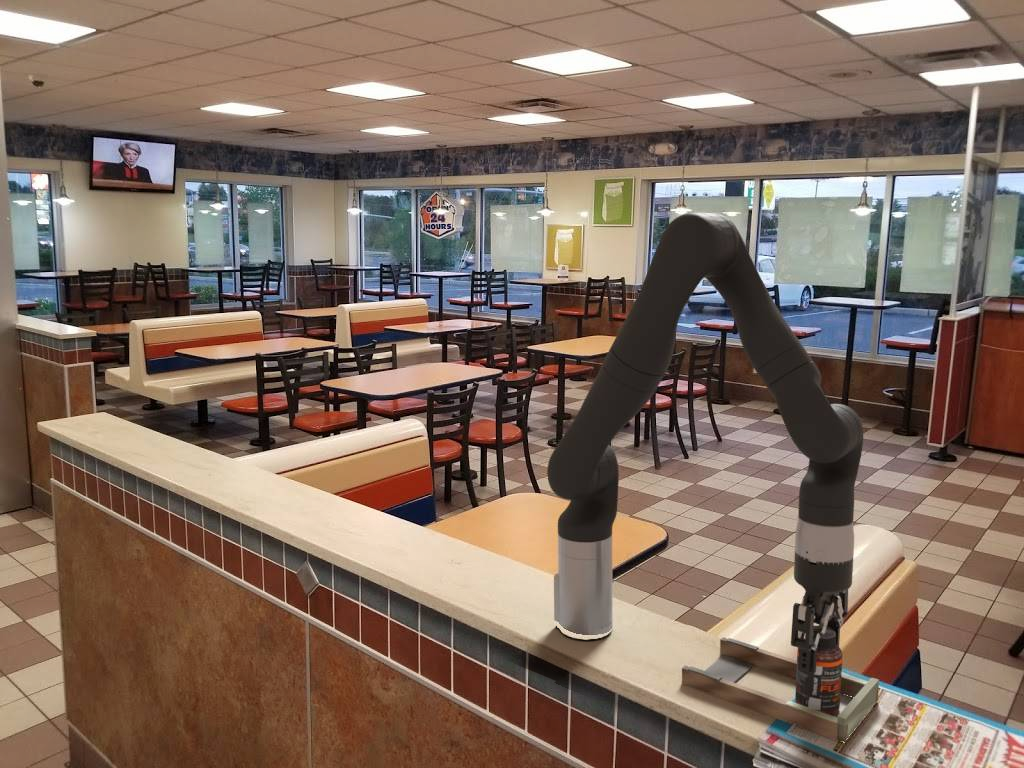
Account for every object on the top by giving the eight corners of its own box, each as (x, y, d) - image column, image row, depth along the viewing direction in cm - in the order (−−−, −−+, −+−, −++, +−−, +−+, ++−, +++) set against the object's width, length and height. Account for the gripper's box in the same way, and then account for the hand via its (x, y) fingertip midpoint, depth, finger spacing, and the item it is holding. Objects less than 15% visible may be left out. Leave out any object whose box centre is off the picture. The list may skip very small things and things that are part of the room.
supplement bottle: (823, 723, 111) (826, 645, 109) (786, 704, 115) (788, 629, 114) (848, 708, 114) (852, 632, 112) (811, 691, 119) (814, 618, 117)
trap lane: (681, 683, 122) (682, 661, 121) (723, 651, 131) (723, 631, 131) (844, 743, 106) (845, 718, 105) (877, 702, 115) (878, 679, 115)
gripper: (816, 531, 119) (812, 635, 121) (775, 558, 108) (771, 671, 111) (870, 542, 114) (864, 650, 116) (831, 572, 103) (826, 690, 106)
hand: (818, 660), depth 114 cm, fingers open, 8 cm apart
